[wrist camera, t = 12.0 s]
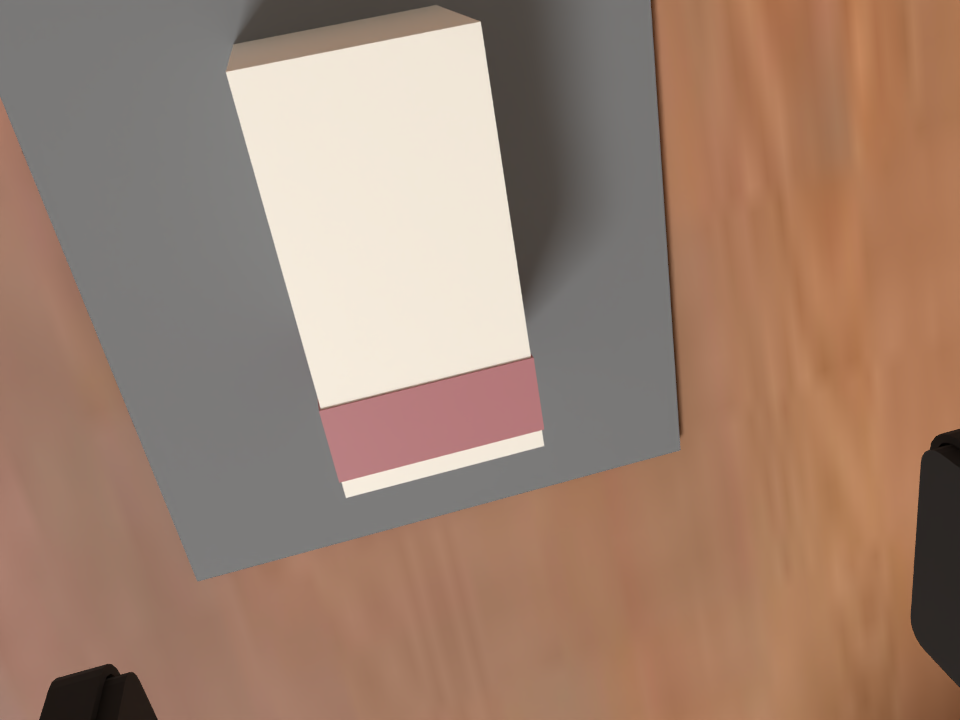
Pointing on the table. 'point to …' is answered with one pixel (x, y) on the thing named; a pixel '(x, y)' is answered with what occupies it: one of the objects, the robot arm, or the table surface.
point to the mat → (257, 272)
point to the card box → (393, 239)
